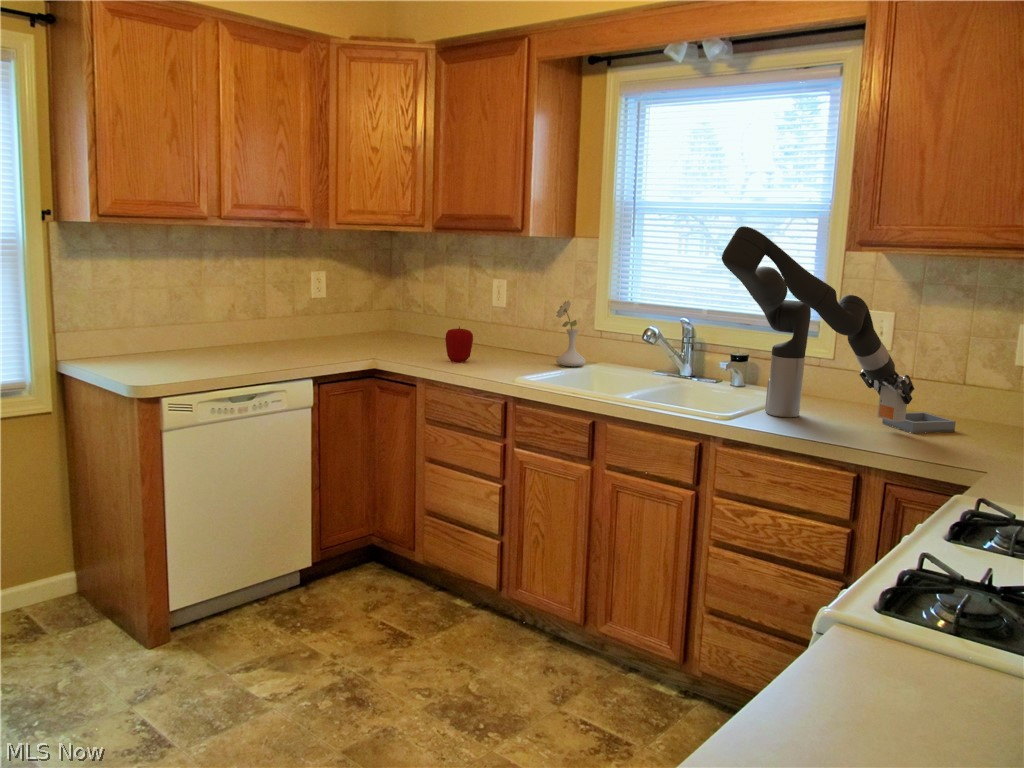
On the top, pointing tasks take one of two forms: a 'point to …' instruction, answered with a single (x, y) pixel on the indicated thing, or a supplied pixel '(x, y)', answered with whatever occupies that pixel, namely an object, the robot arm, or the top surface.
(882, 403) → the skincare box
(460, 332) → the apple
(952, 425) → the tray
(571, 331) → the flower in vase
